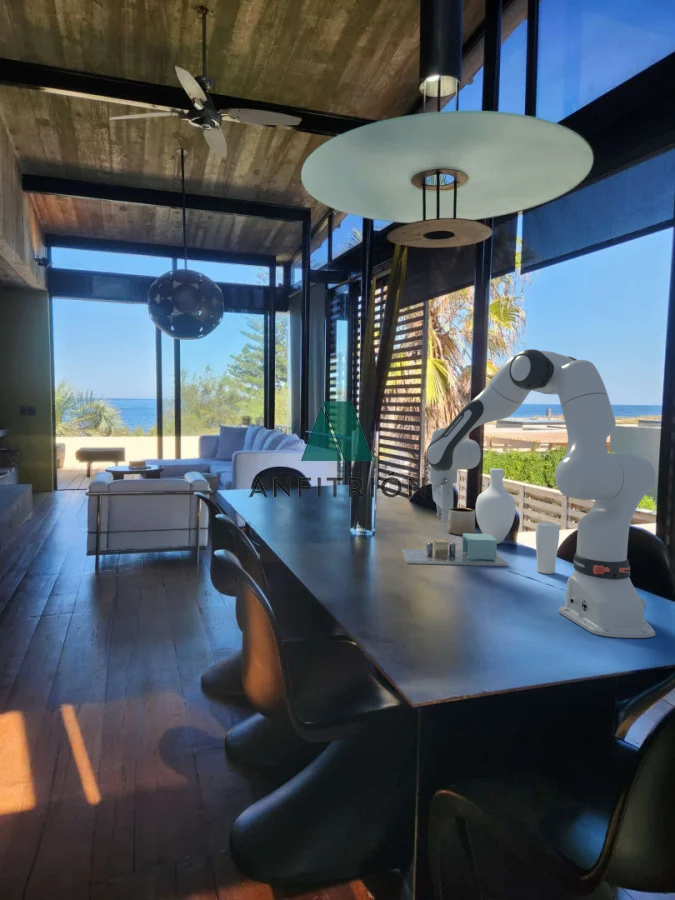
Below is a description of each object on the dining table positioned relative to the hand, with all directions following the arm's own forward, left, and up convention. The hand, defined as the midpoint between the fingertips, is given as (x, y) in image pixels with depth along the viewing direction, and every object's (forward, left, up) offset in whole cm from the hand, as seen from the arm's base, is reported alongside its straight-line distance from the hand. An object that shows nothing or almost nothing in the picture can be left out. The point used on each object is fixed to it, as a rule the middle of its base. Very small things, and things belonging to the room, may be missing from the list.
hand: (442, 519), depth 193 cm
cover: (0, -12, -12) cm, 17 cm away
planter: (+44, -15, -14) cm, 49 cm away
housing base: (0, -4, -13) cm, 14 cm away
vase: (+26, -24, -13) cm, 38 cm away
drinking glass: (-14, -30, -13) cm, 36 cm away
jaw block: (0, 0, -12) cm, 12 cm away
